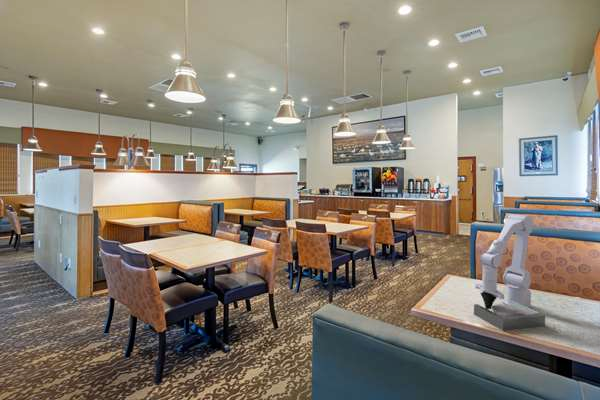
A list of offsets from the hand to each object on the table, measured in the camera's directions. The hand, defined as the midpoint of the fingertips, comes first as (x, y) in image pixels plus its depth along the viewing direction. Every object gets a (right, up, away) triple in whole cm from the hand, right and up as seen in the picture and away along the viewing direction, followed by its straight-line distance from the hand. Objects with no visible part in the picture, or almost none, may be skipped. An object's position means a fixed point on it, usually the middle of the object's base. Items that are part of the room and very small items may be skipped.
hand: (488, 308), depth 140 cm
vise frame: (+4, -2, -8) cm, 9 cm away
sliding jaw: (+13, -2, -5) cm, 14 cm away
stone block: (+5, -2, -4) cm, 7 cm away
